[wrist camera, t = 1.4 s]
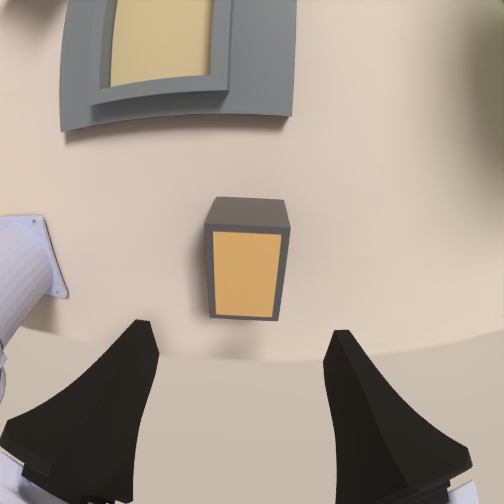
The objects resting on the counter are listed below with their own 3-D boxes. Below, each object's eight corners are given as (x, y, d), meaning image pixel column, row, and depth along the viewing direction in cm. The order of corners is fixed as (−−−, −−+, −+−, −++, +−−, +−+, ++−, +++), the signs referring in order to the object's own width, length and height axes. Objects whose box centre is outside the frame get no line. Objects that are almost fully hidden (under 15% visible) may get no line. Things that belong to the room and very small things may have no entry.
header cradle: (69, 129, 13) (49, 135, 12) (81, -20, 7) (64, -28, 6) (289, 115, 13) (294, 117, 12) (294, -52, 7) (299, -69, 5)
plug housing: (217, 278, 19) (209, 318, 16) (216, 196, 16) (204, 224, 13) (275, 281, 19) (278, 322, 16) (283, 199, 16) (290, 228, 13)
